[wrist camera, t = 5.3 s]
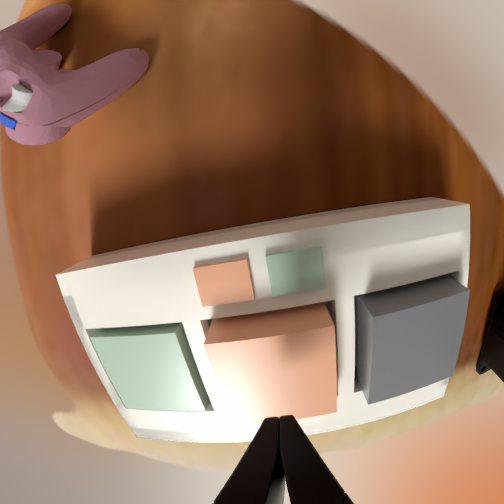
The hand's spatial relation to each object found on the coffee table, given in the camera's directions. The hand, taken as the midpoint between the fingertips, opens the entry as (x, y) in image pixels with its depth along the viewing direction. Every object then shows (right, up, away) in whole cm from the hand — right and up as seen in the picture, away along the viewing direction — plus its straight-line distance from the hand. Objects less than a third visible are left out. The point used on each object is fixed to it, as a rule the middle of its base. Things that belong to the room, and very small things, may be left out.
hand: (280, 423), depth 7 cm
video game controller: (-10, +15, +3) cm, 19 cm away
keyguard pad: (0, +2, +6) cm, 6 cm away
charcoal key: (+6, +2, +3) cm, 7 cm away
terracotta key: (0, +1, +4) cm, 4 cm away
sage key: (-5, 0, +5) cm, 7 cm away
